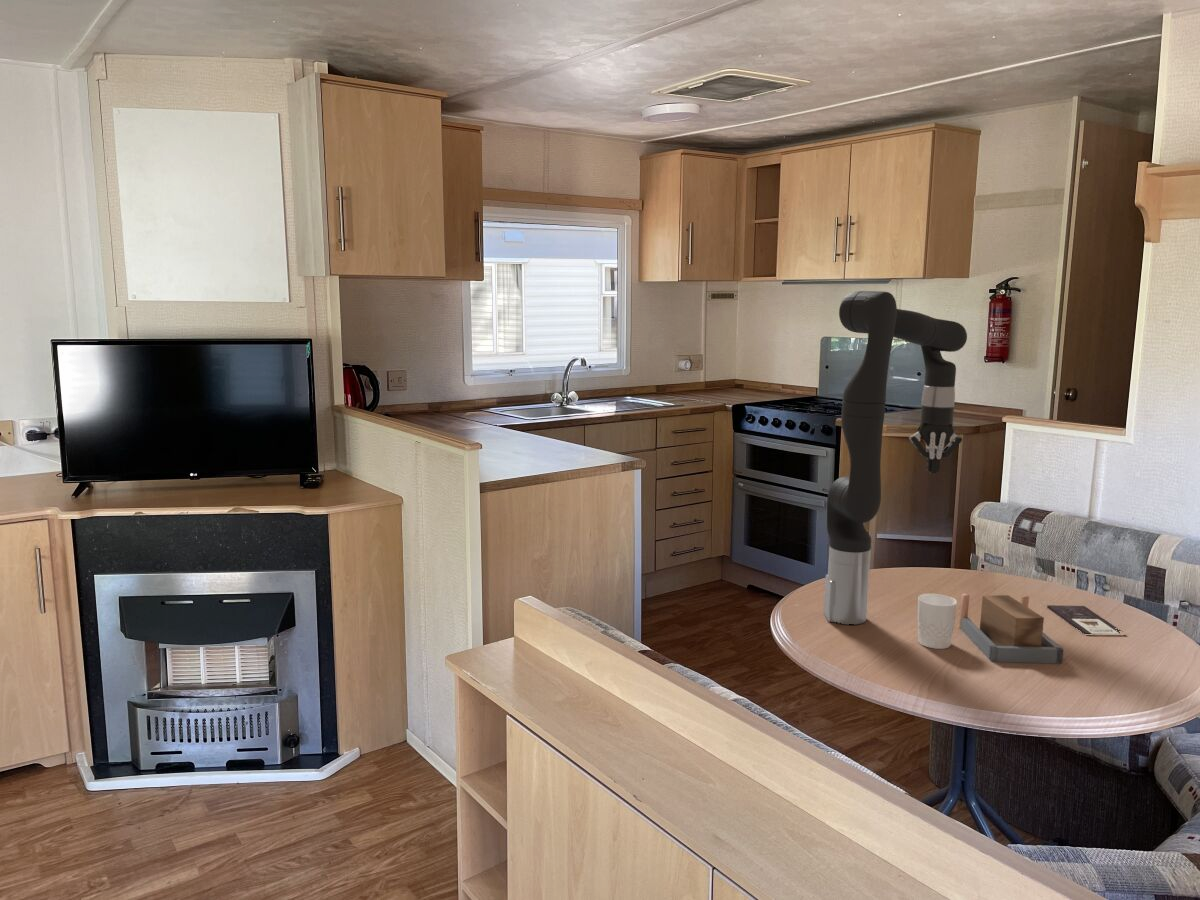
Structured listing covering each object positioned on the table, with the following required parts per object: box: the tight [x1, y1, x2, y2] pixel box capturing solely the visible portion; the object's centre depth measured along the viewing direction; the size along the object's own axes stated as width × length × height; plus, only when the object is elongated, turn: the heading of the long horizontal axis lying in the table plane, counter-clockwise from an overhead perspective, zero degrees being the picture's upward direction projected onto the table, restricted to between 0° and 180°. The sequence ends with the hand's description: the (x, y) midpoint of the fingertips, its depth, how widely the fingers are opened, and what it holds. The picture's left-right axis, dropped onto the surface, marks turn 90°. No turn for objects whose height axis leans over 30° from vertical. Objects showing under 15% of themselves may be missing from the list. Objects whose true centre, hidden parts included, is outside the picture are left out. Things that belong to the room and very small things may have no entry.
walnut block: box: [979, 594, 1045, 647], centre depth 195 cm, size 6×14×9 cm, turn 5°
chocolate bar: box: [1046, 604, 1122, 635], centre depth 211 cm, size 9×1×18 cm
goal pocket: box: [958, 593, 1064, 664], centre depth 196 cm, size 15×19×8 cm
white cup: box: [917, 593, 958, 650], centre depth 196 cm, size 8×8×10 cm
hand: (932, 473), depth 225 cm, fingers closed
